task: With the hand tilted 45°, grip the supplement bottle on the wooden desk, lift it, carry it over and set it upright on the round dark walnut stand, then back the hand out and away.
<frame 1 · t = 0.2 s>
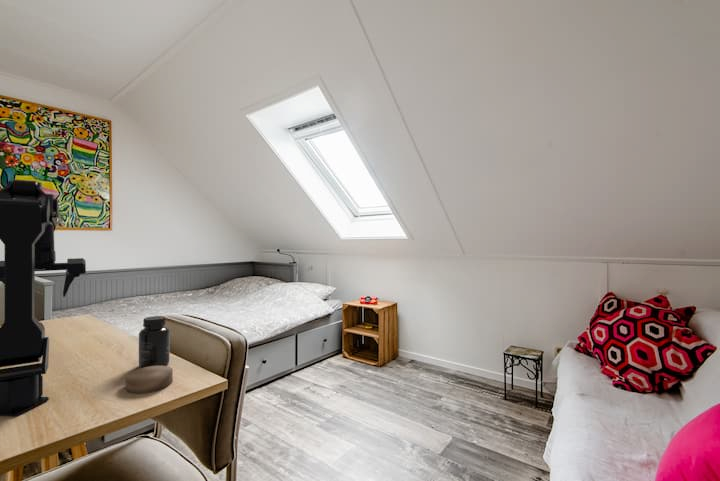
hand: (41, 298, 96), 15 cm above the table, tool pointing down, fingers open, 9 cm apart
walnut stand: (149, 384, 80), on the table
supplement bottle: (154, 365, 91), on the table
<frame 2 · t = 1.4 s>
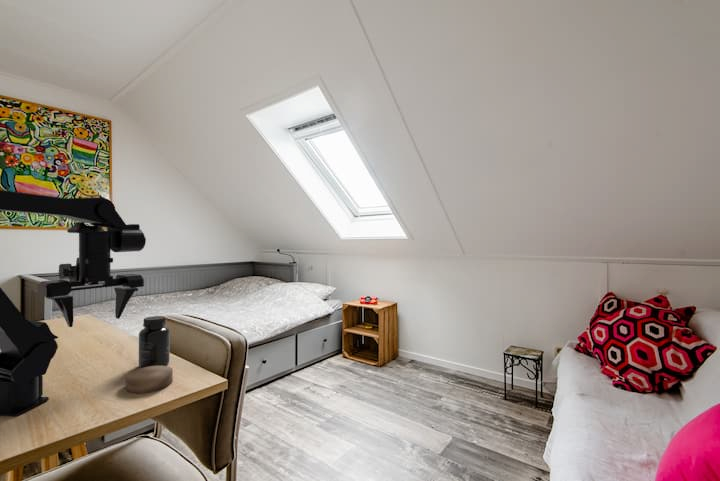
hand: (95, 322, 81), 13 cm above the table, tool pointing down, fingers open, 9 cm apart
nothing on the table moved.
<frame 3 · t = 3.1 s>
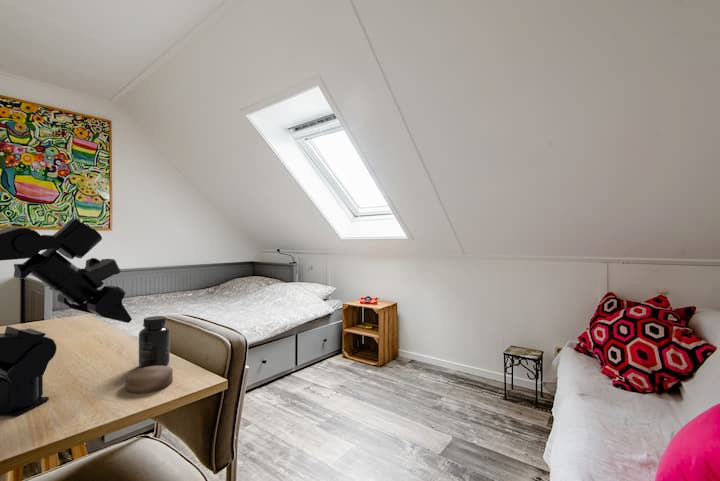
hand: (119, 318, 84), 13 cm above the table, tool tilted 45°, fingers open, 9 cm apart
nothing on the table moved.
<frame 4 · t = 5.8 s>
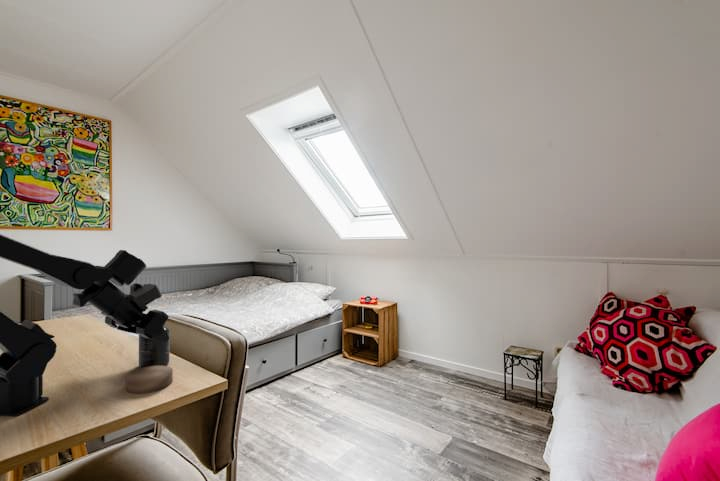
hand: (159, 337, 92), 7 cm above the table, tool tilted 45°, fingers closed on supplement bottle, 7 cm apart
supplement bottle: (154, 365, 91), on the table, touching gripper
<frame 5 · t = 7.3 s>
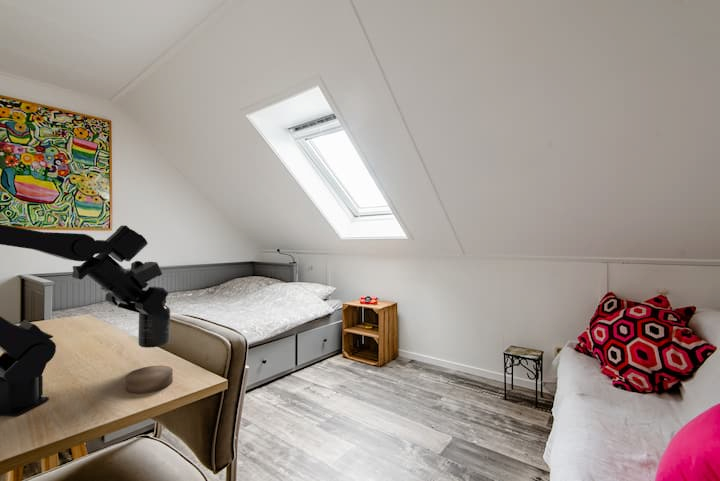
hand: (160, 316, 91), 12 cm above the table, tool tilted 45°, fingers closed on supplement bottle, 7 cm apart
supplement bottle: (154, 344, 90), point 5 cm above the table, touching gripper
when the fingers open (10 cm above the table, at t = 9.1 s): supplement bottle drops 1 cm, resting on walnut stand.
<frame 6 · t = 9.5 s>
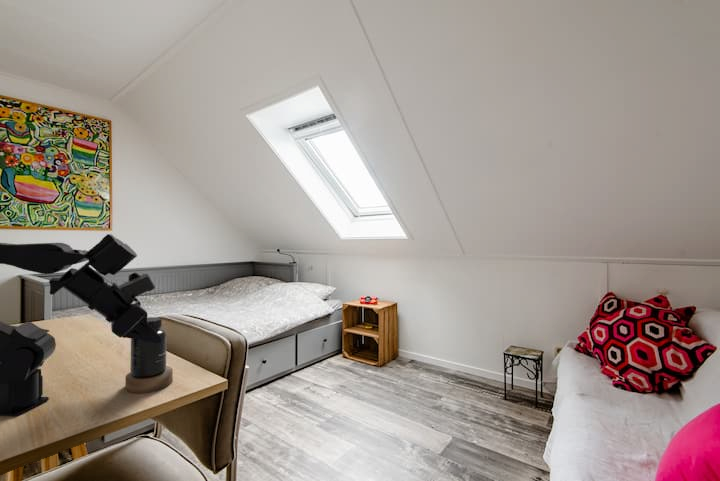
hand: (157, 336, 80), 11 cm above the table, tool tilted 45°, fingers open, 9 cm apart
supplement bottle: (148, 374, 80), point 2 cm above the table, touching walnut stand
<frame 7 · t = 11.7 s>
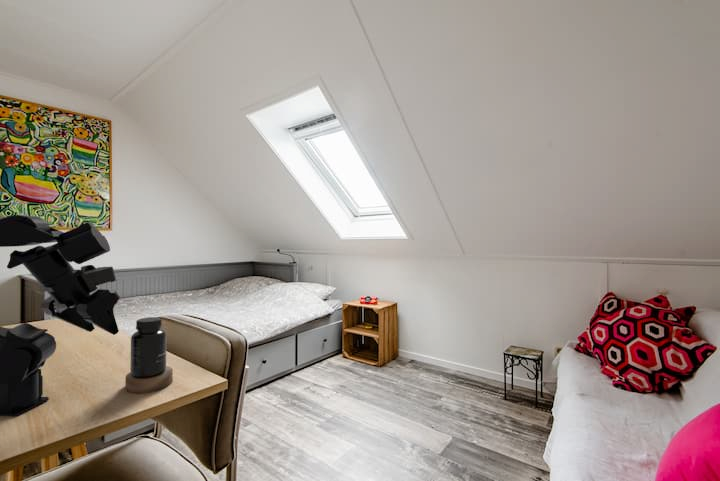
hand: (104, 331, 78), 12 cm above the table, tool tilted 30°, fingers open, 9 cm apart
nothing on the table moved.
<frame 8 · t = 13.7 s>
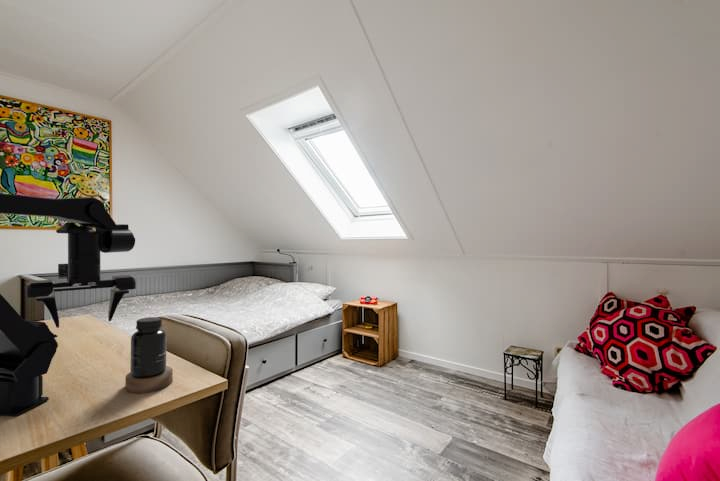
hand: (84, 323, 80), 13 cm above the table, tool pointing down, fingers open, 9 cm apart
nothing on the table moved.
at the end: supplement bottle 0.1 cm off-centre on the walnut stand, point 2.3 cm above the walnut stand's base; supplement bottle tilted 0°; the gripper is holding nothing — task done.
